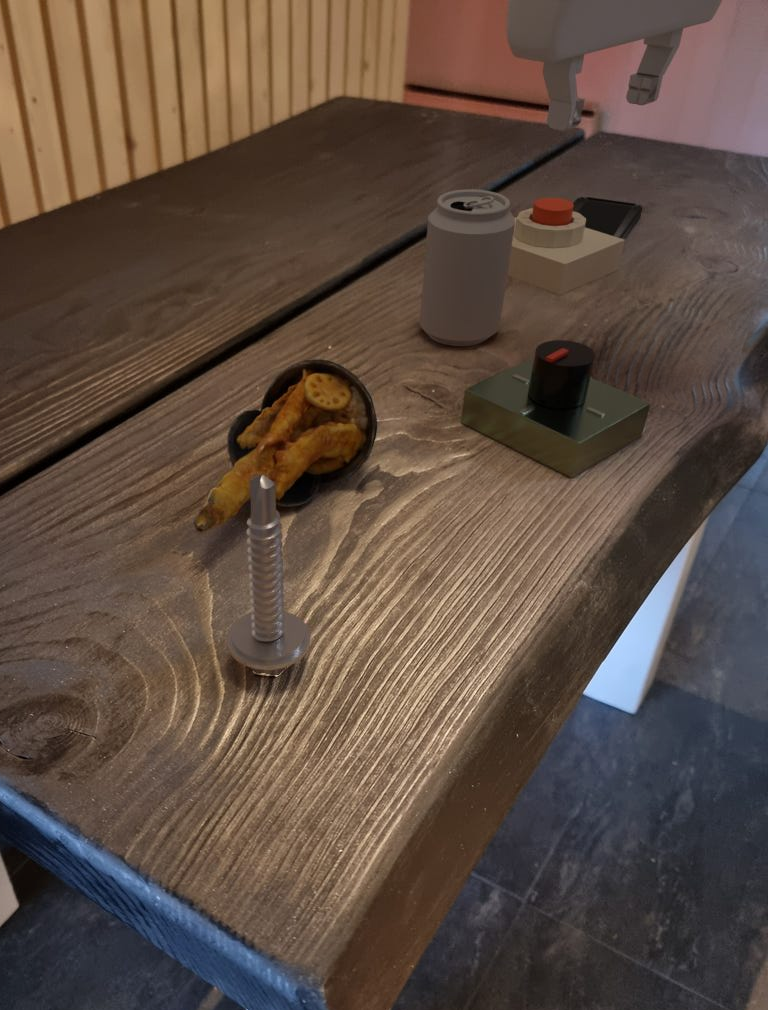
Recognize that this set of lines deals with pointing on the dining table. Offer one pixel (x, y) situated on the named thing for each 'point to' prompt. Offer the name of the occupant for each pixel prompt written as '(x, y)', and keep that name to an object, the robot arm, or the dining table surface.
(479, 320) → the can
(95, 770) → the dining table surface
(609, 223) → the phone
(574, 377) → the timer knob
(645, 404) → the timer panel
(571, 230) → the beige button box
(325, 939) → the dining table surface
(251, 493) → the screw
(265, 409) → the fried shrimp in bowl
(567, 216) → the button
